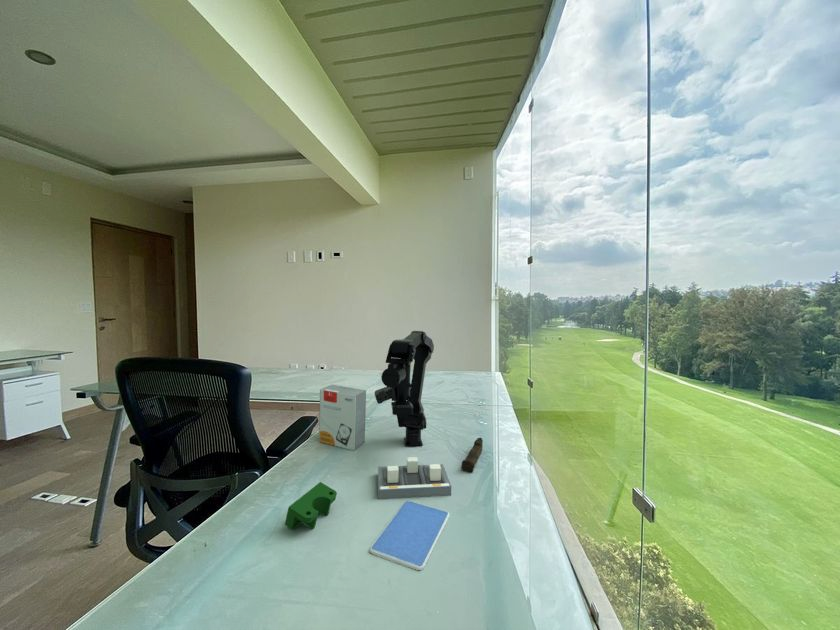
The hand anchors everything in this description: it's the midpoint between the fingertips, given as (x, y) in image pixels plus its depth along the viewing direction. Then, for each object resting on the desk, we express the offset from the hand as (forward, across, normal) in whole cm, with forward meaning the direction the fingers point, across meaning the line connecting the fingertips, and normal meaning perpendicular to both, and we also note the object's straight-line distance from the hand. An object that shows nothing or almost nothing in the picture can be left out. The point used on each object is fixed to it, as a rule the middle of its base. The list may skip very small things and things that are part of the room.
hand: (400, 426), depth 108 cm
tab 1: (+9, +15, -3) cm, 18 cm away
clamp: (+12, +25, -23) cm, 36 cm away
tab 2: (+9, +11, +3) cm, 14 cm away
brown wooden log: (+12, -1, +25) cm, 28 cm away
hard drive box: (+12, -16, -20) cm, 28 cm away
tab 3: (+9, +15, +9) cm, 20 cm away
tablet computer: (+13, +32, +1) cm, 34 cm away
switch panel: (+12, +13, +3) cm, 18 cm away
